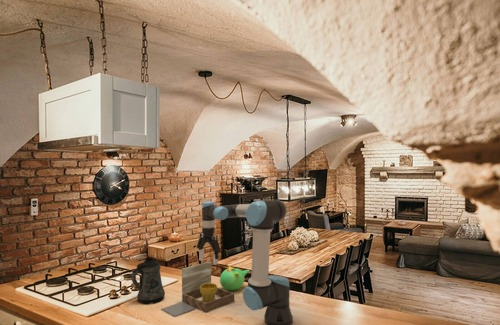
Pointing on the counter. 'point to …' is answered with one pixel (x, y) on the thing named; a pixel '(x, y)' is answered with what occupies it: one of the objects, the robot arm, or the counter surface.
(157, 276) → the beer stein
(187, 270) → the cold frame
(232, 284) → the toy bird
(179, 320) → the counter surface
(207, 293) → the plant pot
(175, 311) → the slate pad
